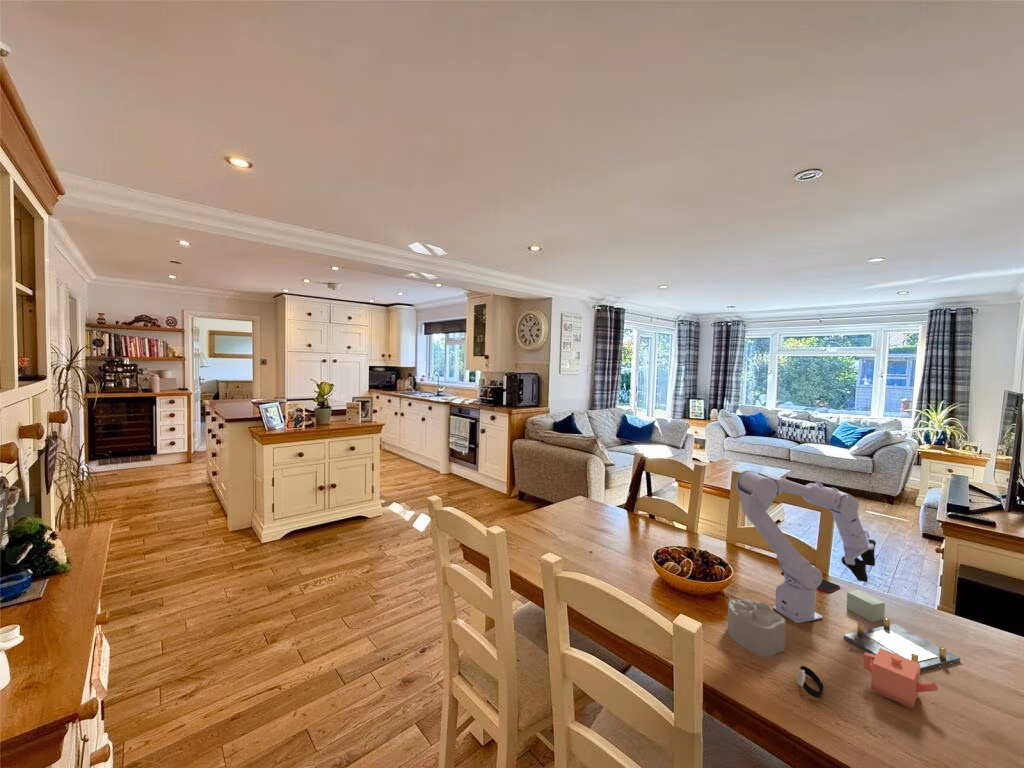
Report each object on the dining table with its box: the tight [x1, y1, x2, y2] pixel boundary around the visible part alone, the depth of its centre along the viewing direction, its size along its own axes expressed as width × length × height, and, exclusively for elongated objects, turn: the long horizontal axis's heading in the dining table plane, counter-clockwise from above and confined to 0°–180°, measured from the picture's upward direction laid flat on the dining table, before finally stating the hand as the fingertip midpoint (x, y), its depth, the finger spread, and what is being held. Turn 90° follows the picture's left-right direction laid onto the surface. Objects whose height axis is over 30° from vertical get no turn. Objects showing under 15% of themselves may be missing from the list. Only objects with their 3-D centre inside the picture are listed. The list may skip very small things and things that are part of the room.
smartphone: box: [780, 571, 841, 594], centre depth 141 cm, size 7×1×15 cm
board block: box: [846, 589, 886, 623], centre depth 122 cm, size 4×7×5 cm, turn 14°
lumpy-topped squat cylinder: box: [727, 598, 786, 658], centre depth 111 cm, size 10×13×9 cm
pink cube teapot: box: [863, 648, 940, 710], centre depth 92 cm, size 8×12×8 cm, turn 40°
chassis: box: [843, 617, 961, 673], centre depth 107 cm, size 18×14×4 cm
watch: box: [796, 665, 825, 698], centre depth 95 cm, size 8×5×4 cm, turn 157°
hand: (866, 572), depth 123 cm, fingers open, 7 cm apart
